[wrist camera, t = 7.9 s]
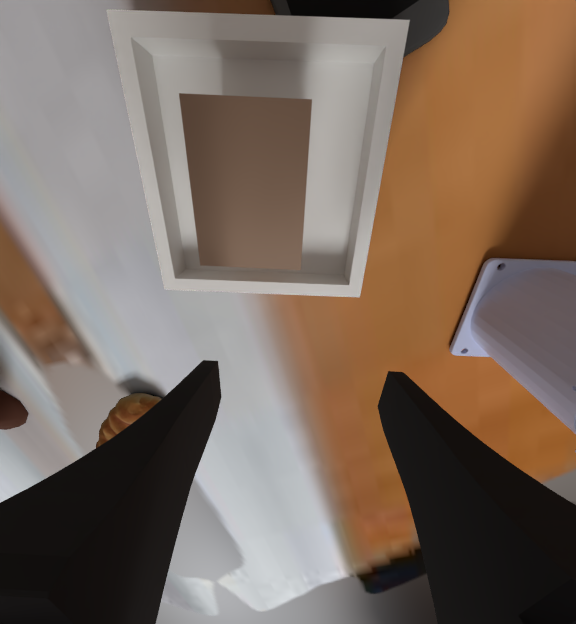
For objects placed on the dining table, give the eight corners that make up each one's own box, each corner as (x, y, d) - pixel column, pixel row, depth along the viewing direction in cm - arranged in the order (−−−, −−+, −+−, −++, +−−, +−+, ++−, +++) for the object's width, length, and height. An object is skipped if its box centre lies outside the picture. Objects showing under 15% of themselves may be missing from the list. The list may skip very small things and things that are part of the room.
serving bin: (389, 47, 13) (410, 20, 11) (352, 283, 19) (359, 297, 16) (138, 38, 13) (106, 9, 11) (179, 276, 19) (164, 289, 16)
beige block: (305, 129, 14) (312, 99, 9) (298, 240, 17) (300, 270, 11) (222, 125, 14) (178, 93, 9) (229, 237, 17) (200, 265, 11)
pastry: (113, 377, 24) (84, 411, 20) (185, 396, 25) (169, 431, 21) (109, 438, 28) (84, 475, 25) (171, 452, 29) (156, 489, 26)
